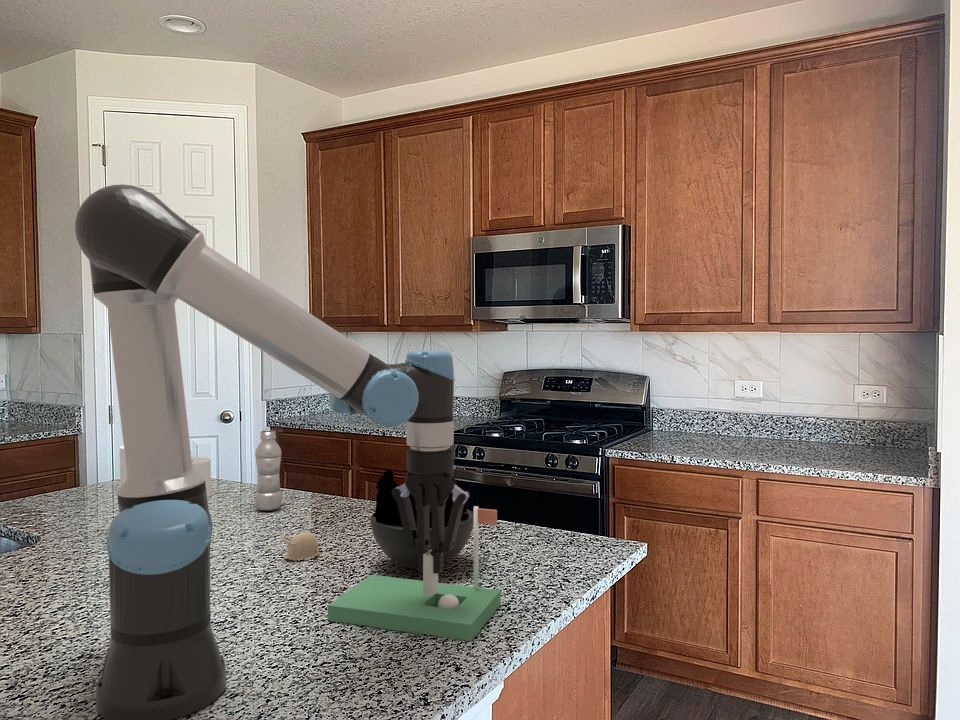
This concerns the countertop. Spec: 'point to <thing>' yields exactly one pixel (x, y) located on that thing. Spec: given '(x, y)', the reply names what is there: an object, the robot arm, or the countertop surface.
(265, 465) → the plastic bottle
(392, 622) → the green
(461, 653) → the countertop surface
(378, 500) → the coal bowl
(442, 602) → the ball
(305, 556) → the decorative ornament
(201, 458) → the toilet tissue
